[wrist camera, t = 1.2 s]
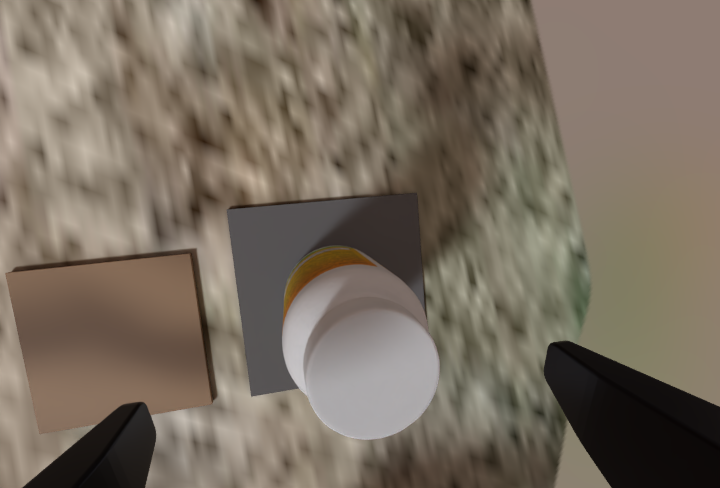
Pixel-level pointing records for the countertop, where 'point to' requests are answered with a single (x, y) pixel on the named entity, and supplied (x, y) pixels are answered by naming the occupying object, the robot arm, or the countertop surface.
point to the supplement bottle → (357, 343)
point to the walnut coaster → (110, 338)
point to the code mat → (293, 242)
